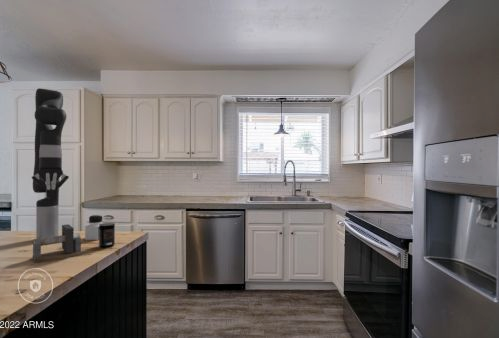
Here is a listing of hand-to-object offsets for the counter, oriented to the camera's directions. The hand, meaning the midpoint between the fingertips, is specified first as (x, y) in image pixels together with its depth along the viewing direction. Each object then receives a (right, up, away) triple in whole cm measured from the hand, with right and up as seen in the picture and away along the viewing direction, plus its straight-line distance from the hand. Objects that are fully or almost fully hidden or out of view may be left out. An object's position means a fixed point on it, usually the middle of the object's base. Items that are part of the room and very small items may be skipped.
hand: (50, 198), depth 117 cm
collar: (+4, -22, +4) cm, 23 cm away
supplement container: (+14, -25, +18) cm, 34 cm away
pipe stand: (+2, -24, +2) cm, 24 cm away
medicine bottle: (+1, -24, +32) cm, 40 cm away
